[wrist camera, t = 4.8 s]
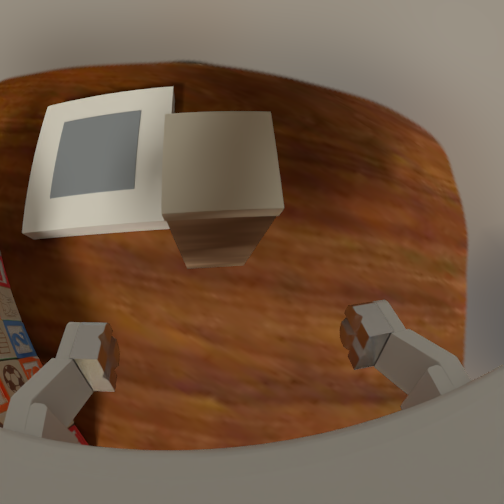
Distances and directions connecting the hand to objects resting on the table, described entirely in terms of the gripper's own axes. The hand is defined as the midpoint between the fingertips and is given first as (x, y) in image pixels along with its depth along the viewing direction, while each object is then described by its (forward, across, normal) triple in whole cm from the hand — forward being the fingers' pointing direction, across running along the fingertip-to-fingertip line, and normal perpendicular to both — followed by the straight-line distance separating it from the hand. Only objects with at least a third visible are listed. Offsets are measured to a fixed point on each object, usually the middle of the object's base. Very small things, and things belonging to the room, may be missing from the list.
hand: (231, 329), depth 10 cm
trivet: (+17, +9, -1) cm, 19 cm away
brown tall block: (+12, 0, +4) cm, 13 cm away
